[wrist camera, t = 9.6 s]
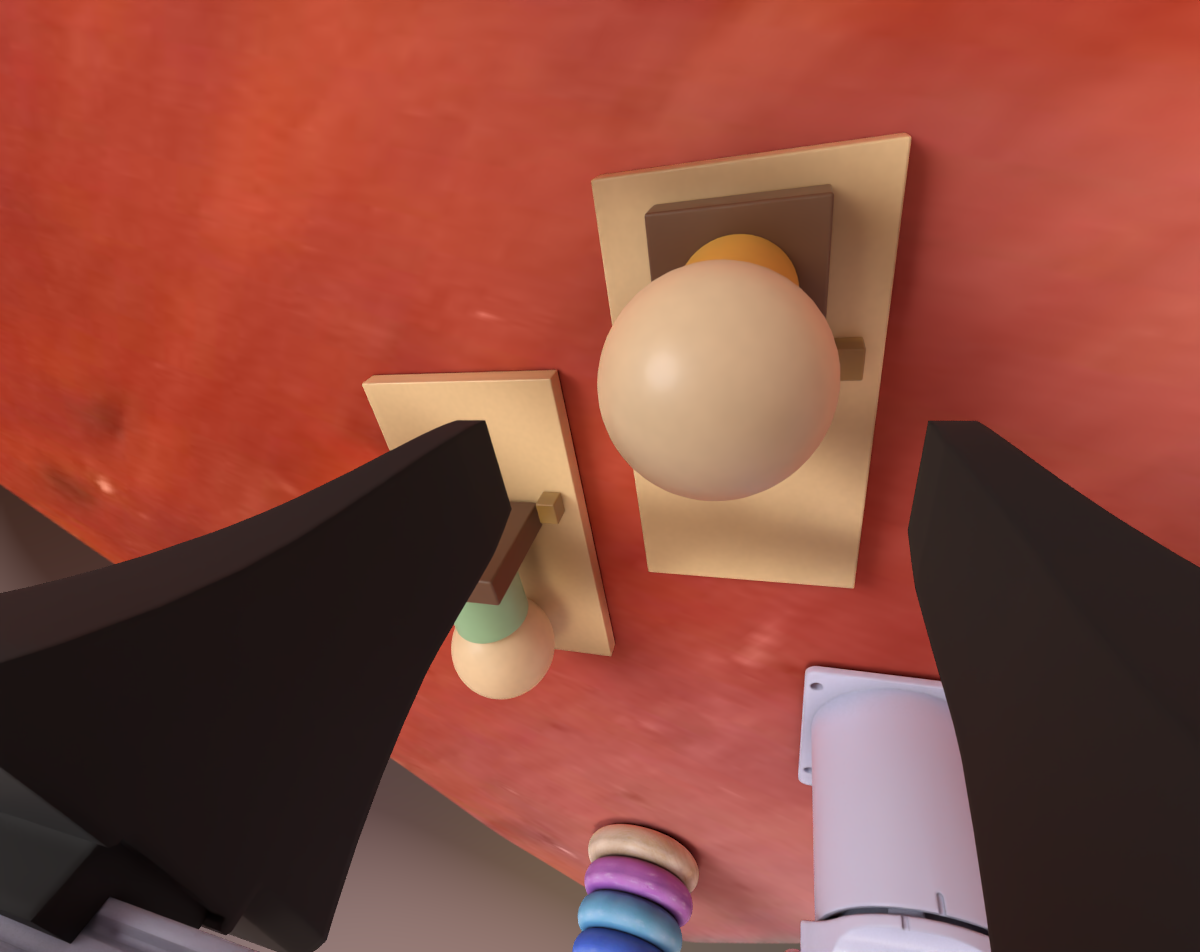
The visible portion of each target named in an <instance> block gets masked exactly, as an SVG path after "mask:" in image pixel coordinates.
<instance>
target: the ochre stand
mask: <svg viewBox="0 0 1200 952" xmlns="http://www.w3.org/2000/svg"><path fill="white" fill-rule="evenodd" d="M910 147H911V136H910V135H908V134H907V133H898V134H891V135H883V136H876V137H869V138H862V139H855V140H847V141H840V142H833V143H826V144H819V145H812V146H804V147H797V148H790V149H783V150H776V151H768V152H761V153H754V154H747V155H740V156H732V157H725V158H718V159H711V160H704V161H696V162H689V163H682V164H675V165H668V166H660V167H653V168H646V169H639V170H632V171H624V172H617V173H610V174H603V175H599V176H597V177H595V178H594V179H592V180H591V184H592V191H593V198H594V205H595V211H596V218H597V225H598V232H599V239H600V245H601V252H602V259H603V266H604V273H605V279H606V286H607V293H608V300H609V307H610V313H611V320H612V326H613V324H614V322H615V320H616V319H617V317H618V316H619V314H620V313H621V311H622V310H623V308H624V307H625V306H626V305H627V304H628V303H629V302H630V301H631V300H632V298H633V297H634V296H635V295H636V294H637V293H638V292H640V291H641V290H642V289H643V288H645V287H646V286H647V285H648V284H650V283H651V276H650V266H649V257H648V247H647V237H646V228H645V218H644V216H645V214H646V213H647V211H648V210H649V209H650V208H651V207H652V206H653V205H656V204H664V203H673V202H681V201H690V200H698V199H707V198H715V197H723V196H732V195H740V194H749V193H757V192H766V191H774V190H782V189H791V188H799V187H808V186H816V185H825V184H830V185H832V188H833V192H834V208H833V223H832V238H831V253H830V268H829V284H828V299H827V314H826V321H827V323H828V325H829V327H830V329H831V331H832V334H833V337H834V340H835V344H836V347H837V350H838V355H839V361H840V392H839V398H838V404H837V407H836V410H835V413H834V416H833V419H832V422H831V425H830V427H829V429H828V431H827V433H826V435H825V437H824V439H823V440H822V442H821V443H820V445H819V446H818V448H817V449H816V450H815V452H814V453H813V455H812V456H811V457H810V458H809V459H808V460H807V461H806V462H805V463H804V464H803V465H802V466H801V467H800V468H799V469H798V470H797V471H796V472H795V473H793V474H792V475H791V476H789V477H788V478H787V479H785V480H783V481H782V482H780V483H779V484H777V485H775V486H774V487H772V488H770V489H767V490H765V491H763V492H760V493H757V494H755V495H752V496H749V497H745V498H741V499H735V500H729V501H702V500H695V499H690V498H686V497H682V496H679V495H676V494H673V493H670V492H667V491H665V490H663V489H661V488H660V487H658V486H656V485H654V484H652V483H651V482H649V481H648V480H646V479H645V478H644V477H642V476H641V475H640V474H639V473H638V472H636V471H635V470H634V469H633V470H634V477H635V484H636V490H637V497H638V504H639V511H640V518H641V524H642V531H643V538H644V545H645V552H646V558H647V565H648V571H649V572H658V573H670V574H682V575H695V576H707V577H719V578H731V579H744V580H756V581H768V582H781V583H793V584H805V585H818V586H830V587H842V588H854V585H855V577H856V569H857V562H858V554H859V546H860V538H861V530H862V522H863V515H864V507H865V499H866V491H867V483H868V475H869V468H870V460H871V452H872V444H873V436H874V428H875V421H876V413H877V405H878V397H879V389H880V381H881V374H882V366H883V358H884V350H885V342H886V334H887V327H888V319H889V311H890V303H891V295H892V287H893V280H894V272H895V264H896V256H897V248H898V241H899V233H900V225H901V217H902V209H903V201H904V194H905V186H906V178H907V170H908V162H909V154H910Z"/></svg>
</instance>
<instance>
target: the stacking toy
mask: <svg viewBox="0 0 1200 952" xmlns="http://www.w3.org/2000/svg"><path fill="white" fill-rule="evenodd" d="M588 853H589V858H590V861H591V864H590V866H589V867H588V869H587V871H586V875H585V888H586V891H587V893H588V895H587V896H586V897H585V898H584V899H583V901H582V903H581V905H580V907H579V911H578V922H579V926H580V928H581V930H582V932H581V933H580V934H579V935H578V937H577V938H576V940H575V942H574V945H573V951H572V952H680V950H681V946H682V933H681V929H680V927H682V926H684V925H685V924H686V923H687V922H688V920H689V919H690V917H691V914H692V907H693V905H692V898H691V895H690V893H691V892H692V891H693V890H694V889H695V887H696V885H697V883H698V878H699V871H698V866H697V863H696V861H695V859H694V858H693V856H692V855H691V853H690V852H689V851H688V850H687V849H686V848H685V847H684V846H683V845H681V844H680V843H679V842H677V841H676V840H674V839H673V838H671V837H669V836H667V835H665V834H662V833H660V832H658V831H655V830H652V829H649V828H645V827H641V826H637V825H629V824H612V825H607V826H604V827H602V828H600V829H598V830H597V831H596V832H595V833H594V834H593V835H592V837H591V839H590V842H589V846H588Z"/></svg>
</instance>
